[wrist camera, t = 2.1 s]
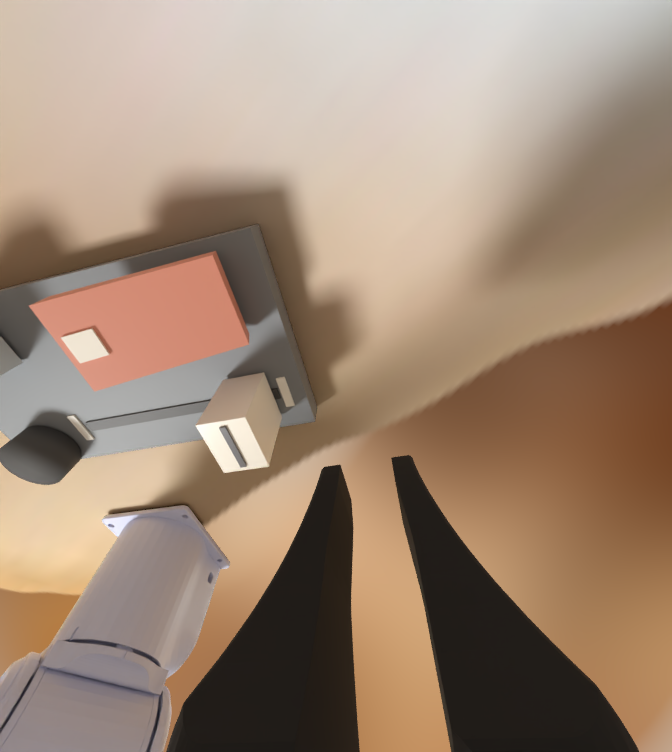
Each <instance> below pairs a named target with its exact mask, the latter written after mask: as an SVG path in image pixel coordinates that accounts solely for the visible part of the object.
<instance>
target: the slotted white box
mask: <svg viewBox="0 0 672 752" xmlns="http://www.w3.org/2000/svg"><path fill="white" fill-rule="evenodd" d="M22 363H23V362H22V361H21V359H20V358H19V357H18V356H17V355H16V354H15V353H14V351H13V350H12V349H11V348H10V347H9V346H8V344H7V343H6V342H5V341H4V340H3V339H2V337H1V336H0V375H2V374H4V373H6V372H8V371H9V370H11V369H13V368H15V367H16V366H18V365H20V364H22Z"/></svg>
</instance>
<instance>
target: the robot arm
mask: <svg viewBox="0 0 672 752" xmlns="http://www.w3.org/2000/svg"><path fill="white" fill-rule="evenodd" d="M392 464H393V470H394V476H395V482H396V487H397V492H398V498H399V503H400V509H401V513H402V520H403V524H404V528H405V532H406V536H407V540H408V544H409V547H410V551H411V554H412V559H413V562H414V566H415V570H416V574H417V578H418V582H419V585H420V589H421V593H422V598H423V602H424V606H425V612H426V617H427V623H428V628H429V633H430V639H431V644H432V650H433V655H434V660H435V665H436V671H437V676H438V682H439V687H440V693H441V698H442V703H443V709H444V714H445V720H446V725H447V730H448V736H449V741H450V747H451V752H639V750H638V748H637V746H636V744H635V743H634V741H633V739H632V737H631V736H630V734H629V733H628V731H627V729H626V728H625V726H624V724H623V723H622V721H621V720H620V718H619V717H618V715H617V714H616V712H615V711H614V709H613V708H612V706H611V705H610V704H609V702H608V701H607V700H606V698H605V697H604V695H603V694H602V692H601V691H600V690H599V688H598V687H597V686H596V685H595V683H594V682H593V681H591V679H590V678H588V677H587V676H586V675H585V674H584V673H583V672H582V671H581V670H580V669H579V668H578V667H577V666H576V665H575V664H574V663H573V662H572V661H571V660H570V659H569V658H567V656H566V655H565V654H563V652H562V651H561V650H560V649H559V648H558V647H556V646H555V645H554V644H553V643H552V642H551V641H550V640H549V638H548V637H547V636H546V635H545V634H544V633H542V631H541V630H540V629H539V628H538V627H537V626H536V625H535V624H534V623H533V622H532V621H531V620H530V619H529V618H528V617H527V616H526V615H525V614H524V613H523V611H522V610H521V609H520V608H519V607H518V606H517V605H516V604H515V603H514V602H513V600H512V599H511V598H510V597H509V596H508V595H507V594H506V593H505V592H504V591H503V590H502V589H501V587H500V586H499V585H498V584H497V583H496V582H495V581H494V579H493V578H492V577H491V576H490V575H489V573H488V572H487V571H486V570H485V569H484V568H483V566H482V565H481V564H480V563H479V562H478V560H477V559H476V558H475V557H474V555H473V554H472V553H471V552H470V550H469V549H468V548H467V546H466V545H465V544H464V543H463V541H462V540H461V539H460V537H459V536H458V535H457V533H456V532H455V530H454V529H453V528H452V526H451V525H450V524H449V522H448V521H447V519H446V518H445V516H444V515H443V513H442V512H441V510H440V509H439V507H438V505H437V504H436V502H435V501H434V499H433V498H432V496H431V494H430V493H429V491H428V489H427V488H426V486H425V484H424V482H423V480H422V478H421V477H420V475H419V473H418V470H417V468H416V466H415V464H414V461H413V458H412V457H411V456H409V455H407V456H400V457H394V458H392ZM102 522H103V523H104V524H105V525H106V526H107V527H108V528H109V529H110V530H111V531H112V532H113V533H114V534H115V535H116V536H117V537H118V538H117V539H116V541H115V542H114V544H113V546H112V547H111V549H110V550H109V552H108V553H107V555H106V557H105V558H104V560H103V561H102V563H101V565H100V566H99V568H98V569H97V571H96V572H95V574H94V576H93V577H92V579H91V580H90V582H89V583H88V585H87V587H86V588H85V590H84V591H83V593H82V595H81V596H80V598H79V599H78V601H77V603H76V604H75V606H74V607H73V609H72V610H71V612H70V614H69V615H68V617H67V618H66V620H65V621H64V623H63V625H62V626H61V628H60V629H59V631H58V633H57V634H56V636H55V637H54V639H53V640H52V642H51V643H50V645H49V647H47V648H46V649H45V650H44V651H43V652H42V653H40V654H39V653H35V652H30V653H28V654H27V655H26V656H25V657H23V658H21V659H19V660H17V661H15V662H14V663H12V664H11V665H10V666H9V668H8V669H7V670H6V671H5V672H4V673H3V675H2V676H1V677H0V752H163V750H164V747H165V744H166V740H167V736H168V732H169V727H170V721H171V703H170V692H169V689H168V688H167V687H166V686H164V684H165V681H166V678H168V677H169V676H171V675H172V674H174V673H175V672H176V671H177V670H178V669H179V668H180V666H182V664H183V663H184V662H185V660H186V659H187V658H188V657H189V655H190V653H191V652H192V650H193V648H194V646H195V644H196V642H197V640H198V637H199V634H200V631H201V628H202V625H203V622H204V618H205V615H206V612H207V609H208V606H209V603H210V600H211V596H212V593H213V590H214V587H215V584H216V581H217V578H218V574H219V571H220V569H226V568H228V567H229V565H230V561H228V559H227V557H226V556H225V555H224V553H223V552H222V551H221V550H220V548H219V547H218V546H217V544H216V543H215V542H214V540H213V539H212V538H211V536H210V535H209V534H208V532H207V531H206V530H205V528H204V527H203V526H202V524H201V523H200V522H199V520H198V519H197V518H196V516H195V515H194V514H193V512H192V511H191V510H190V508H189V507H187V506H185V505H180V506H173V507H165V508H157V509H149V510H142V511H134V512H126V513H119V514H111V515H106V516H104V518H103V519H102ZM352 552H353V517H352V503H351V498H350V495H349V491H348V488H347V485H346V481H345V479H344V475H343V472H342V469H341V466H340V465H335V466H328V467H324V468H323V469H322V471H321V474H320V478H319V480H318V483H317V486H316V489H315V492H314V494H313V497H312V500H311V502H310V505H309V507H308V509H307V512H306V514H305V516H304V519H303V521H302V523H301V526H300V528H299V530H298V532H297V534H296V536H295V538H294V540H293V542H292V544H291V546H290V548H289V550H288V552H287V554H286V556H285V558H284V560H283V562H282V564H281V565H280V567H279V569H278V571H277V572H276V574H275V576H274V578H273V579H272V581H271V583H270V584H269V586H268V588H267V589H266V591H265V593H264V594H263V596H262V597H261V599H260V600H259V602H258V604H257V605H256V607H255V608H254V610H253V611H252V613H251V614H250V616H249V617H248V619H247V620H246V622H245V623H244V624H243V626H242V627H241V629H240V630H239V631H238V633H237V634H236V636H235V637H234V638H233V640H232V641H231V643H230V644H229V646H228V647H227V649H226V650H225V651H224V652H223V654H222V655H221V656H220V658H219V659H218V660H217V661H216V663H215V664H214V665H213V667H212V668H211V669H210V671H209V672H208V673H207V674H206V675H205V677H204V678H203V679H202V680H201V682H200V683H199V684H198V686H197V687H196V688H195V689H194V691H193V692H192V693H191V694H190V695H189V697H188V698H187V699H186V701H185V702H184V704H183V706H182V709H181V712H180V715H179V717H178V719H177V722H176V724H175V727H174V730H173V733H172V735H171V738H170V742H169V745H168V748H167V752H360V751H359V738H358V726H357V711H356V710H357V709H356V694H355V679H354V663H353V642H352V621H351V583H352V582H351V581H352Z"/></svg>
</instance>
